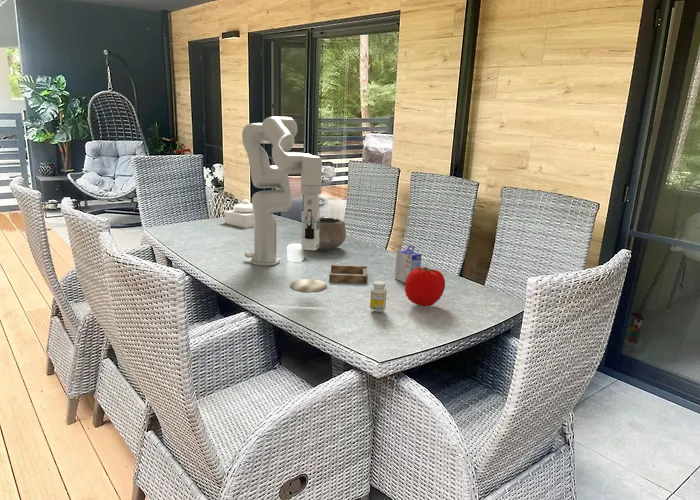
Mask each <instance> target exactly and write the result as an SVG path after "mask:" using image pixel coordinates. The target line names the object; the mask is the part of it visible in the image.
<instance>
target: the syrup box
mask: <svg viewBox="0 0 700 500" xmlns="http://www.w3.org/2000/svg"><path fill="white" fill-rule="evenodd" d="M311 214H312V212H311ZM320 216H321V211H320V210H318V220H317V221H315V220H313V221H314V222H313V228H314V239H305V228H306V221H305V220H304V210H302V211H301V250H303V251H304V250H307V251H317V250H316V249H318V248H319V247H320V218H321V217H320ZM312 219H313V217H312ZM312 219H311V220H312ZM311 223H312V222H311Z"/></svg>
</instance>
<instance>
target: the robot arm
mask: <svg viewBox="0 0 700 500" xmlns="http://www.w3.org/2000/svg"><path fill="white" fill-rule="evenodd" d="M241 133H242V134H241V140H242V144H243V147H244V150H245V152H246V155H247V158H248V165H249V171H250V177H251V178H250V179H251V182H252V184H253V186H254V187H255V188H258V189H269V190H260V191H257V192H255V193H253V195H252V197H251V203H252V207H253V212H254V227H253V228H254V230H253V231H254V232H253V233H254V235H253V237H254V238H253V241H254V251H251V252H247V251H245V252H244V257H246V258H251V259H250V263H251V264H252V265H255V266H260V267H261V266H265V267H267V266H275V265H278V264H279V263H281V259H280V258H279V257H277V221H276V219H275V217H273V213H281V212H287V211H289V210H291V208H292V205H293V199H292V198H293V197H292V191H291V185H290V184H291V183H290V180H289V175H293V174H294V175H296V174H298V175H299V174H300V194H301V195H303V211H304V220H305V221H306V228H305V239H314V228H313V222H314V221H313V220H315V221H317V220H318V210H319V208H320V206H319V197H320V196H319V195H321V194H322V176H323V175H322V167H323V165H322V164H323V160H322V158H321V156H319V155H313V154H310V153H301V152H300V153H298V152H297V153H287V152H289V151H291V149H292V148H294V145H295V137H296V136H297V133H298V124H297V122H296V121H295V119H293V118H292V117H289V116H269V117H268V116H267V117H266V118H264V119H263V120H262V122H253V123H251V122H250V123H248V124H246V125H245V126H244V127H243V129H242V131H241ZM261 144H272V146H273V147H272V150H271V151H272V152H271V153H272V154H271V156H272V162H273V164H274V165H271V164H270V159H269V154H268V153H267V151H266V150H265V148H264V147H263V146H262V145H261ZM270 188H271V190H270ZM272 188H275V189H274V190H272ZM319 211H320V210H319ZM311 212H312V214H311ZM312 217H313V219H312ZM311 219H312V220H311ZM311 222H312V223H311Z"/></svg>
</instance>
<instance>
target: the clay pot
mask: <svg viewBox="0 0 700 500" xmlns="http://www.w3.org/2000/svg"><path fill="white" fill-rule="evenodd" d="M345 225H346V223H345V222H344V221H343V220H341V219H338V218H334V217H320V247H319V248H318V249H316V250H315V251H330V250H334V249H335V248H338V247H340V246H342V245H343V243H344V242H345V240H346V237H347V231H346V227H345Z"/></svg>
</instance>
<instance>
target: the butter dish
mask: <svg viewBox="0 0 700 500" xmlns="http://www.w3.org/2000/svg"><path fill="white" fill-rule="evenodd" d="M223 214H224V223H225V224H228V225H231V226H235V227H236V226H237V227H240V228H245V229H248V228H252V227H253V228H254V212H253V207H252V202H250V200H249V199H246V198H245V199H243V200H242V201H241V203H237V204H234V205H233V206H232V210H230V209H229V210H224V211H223Z"/></svg>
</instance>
